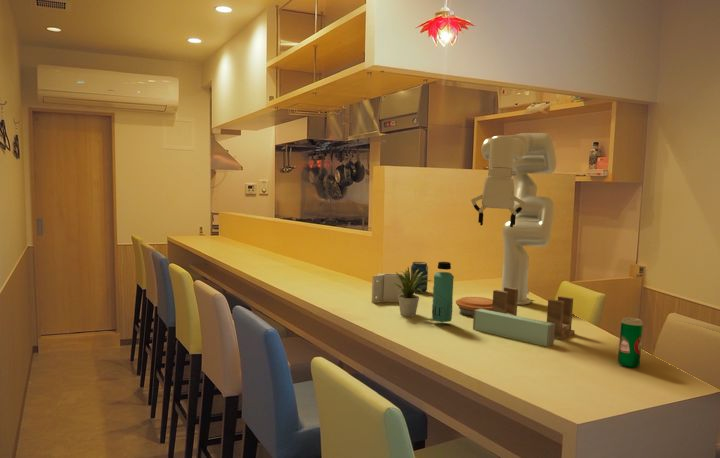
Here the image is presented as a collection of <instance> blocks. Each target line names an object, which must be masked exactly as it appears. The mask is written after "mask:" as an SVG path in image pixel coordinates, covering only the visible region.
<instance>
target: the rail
mask: <svg viewBox="0 0 720 458" xmlns="http://www.w3.org/2000/svg"><path fill="white" fill-rule="evenodd" d="M472 321H473V322H472V330H475V331H479V332H484V333H488V334H492V335H497V336H501V337H505V338H509V339H513V340H518V341H522V342H527V343H530V344H535V345H540V346H544V347H548V348H549V347H551V346H553V345H554V343H555V342H554V341H555V338H554V331H555V324H554V323H549V322H547V321H544V320H540V319H533V318H528V317H524V316H518V315H517V316H514V315H509V314H504V313H499V312H494V311H489V310H484V309H476V310H474V316H473V320H472Z"/></svg>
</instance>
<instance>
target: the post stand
mask: <svg viewBox="0 0 720 458" xmlns="http://www.w3.org/2000/svg"><path fill="white" fill-rule="evenodd" d="M492 300H493V305H492V311H494V312H499V313H504V314H509V315H514V316H518V315H517V314H518V313H517V312H518V305H517V301H518V289H516V288H510V287H505V288H504V291H501V290H500V289H494V290H493V291H492ZM573 306H574V297H568V296H563V295H559V296H557V299H552V298H551V299H548V300H547V312H546V313H547V314H546V322H549V323H554V324H555V331H554V340H555V339H557V340H561V341H562V340H565V339H566V338H569V337H570V336H573V335H575V331H576V330H573V329H572V325H573V324H572V321H573V308H574V307H573Z"/></svg>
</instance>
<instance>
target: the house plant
mask: <svg viewBox="0 0 720 458" xmlns="http://www.w3.org/2000/svg"><path fill="white" fill-rule="evenodd" d="M418 270H419V268H418V269H417V270H416V272H415V273H414V274H413V276H412V277H411V271H410V268H409V266H408V267H407V269H405V271H400V272H401V273H398V272H395V274H397V275H398V277H399V278H400V280H401V283H402V285H403V287H404V288H402V287H401V286H400V285H399V284H397V283H392V284H394V285H396V286H398V287H399V291H401V290H402V292H403V293H404V294H401V295H399V296H398V298H399V302H398V304H399V313H400V315H401V316H404V317H414V316H416V314H417V309H418V305H419V300H420V296H419V295H417V293H416V292H417V290H420V291H421V292H422V290H421V289H423V288H425V286H426V285H424V286H422V285H420V286H422V287H420V286H417V287H416V285H417V284H419V283H422V282H425V281H427V282H430V281H432V279H428V280H422V281H420V280H421V279H420V278H419V277H420V276H421V274H422V273H423V272H421V273H420V274H418V275H417V276H416V274H417V272H418ZM424 272H425V271H424ZM401 274H404V275H405V278H404V277H403V276H402V275H401ZM425 276H427V275H425ZM399 278H398V279H399ZM418 278H419V279H420V280H419V279H418ZM421 278H422V277H421ZM423 278H426V277H424V276H423ZM423 278H422V279H423ZM418 280H419V281H418ZM417 281H418V282H417ZM415 287H416V288H415ZM418 287H420V288H418ZM400 289H401V290H400ZM426 289H427V290H428V287H427V288H426ZM399 291H398V292H399Z"/></svg>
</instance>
